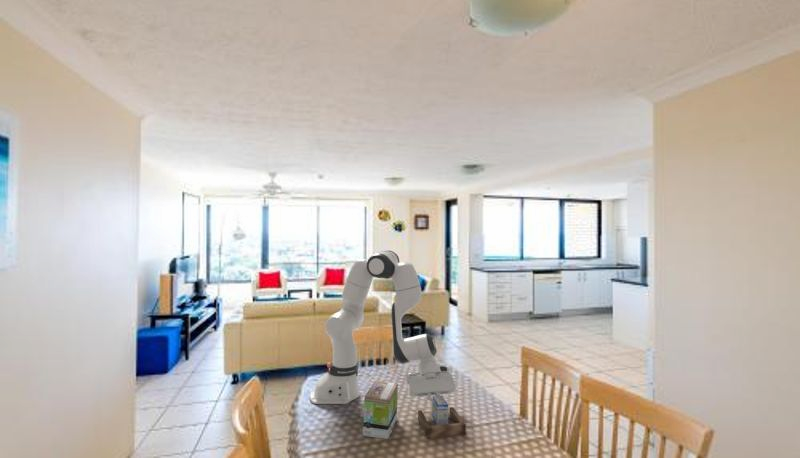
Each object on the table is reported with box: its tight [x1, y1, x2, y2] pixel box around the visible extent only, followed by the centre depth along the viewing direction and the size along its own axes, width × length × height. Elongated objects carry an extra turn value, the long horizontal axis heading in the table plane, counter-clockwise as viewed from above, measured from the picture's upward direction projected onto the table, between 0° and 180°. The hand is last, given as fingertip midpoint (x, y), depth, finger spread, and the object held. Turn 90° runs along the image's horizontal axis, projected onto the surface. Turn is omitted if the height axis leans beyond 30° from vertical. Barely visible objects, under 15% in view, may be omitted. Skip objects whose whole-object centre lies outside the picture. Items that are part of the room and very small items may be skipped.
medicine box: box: [431, 395, 449, 425], centre depth 146 cm, size 8×4×9 cm, turn 10°
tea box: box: [362, 380, 399, 440], centre depth 141 cm, size 15×10×15 cm
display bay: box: [417, 406, 467, 439], centre depth 142 cm, size 15×14×4 cm
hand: (435, 405), depth 150 cm, fingers closed, pressing on medicine box
